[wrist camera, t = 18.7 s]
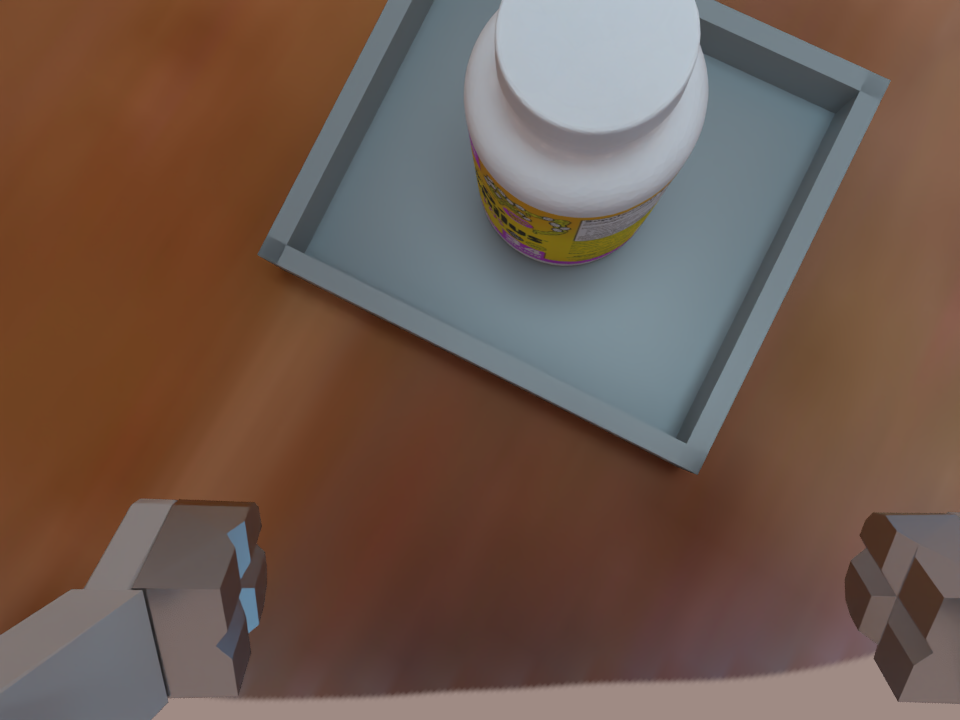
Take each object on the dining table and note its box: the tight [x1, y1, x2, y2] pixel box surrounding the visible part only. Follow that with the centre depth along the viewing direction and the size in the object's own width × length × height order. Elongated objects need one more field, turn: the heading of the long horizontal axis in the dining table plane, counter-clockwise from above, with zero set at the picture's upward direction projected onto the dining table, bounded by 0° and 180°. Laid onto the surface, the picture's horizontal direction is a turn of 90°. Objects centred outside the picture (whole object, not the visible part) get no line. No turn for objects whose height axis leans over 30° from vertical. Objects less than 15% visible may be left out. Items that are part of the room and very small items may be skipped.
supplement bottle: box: [464, 0, 708, 266], centre depth 24 cm, size 7×7×13 cm
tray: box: [258, 0, 891, 475], centre depth 30 cm, size 18×16×3 cm
